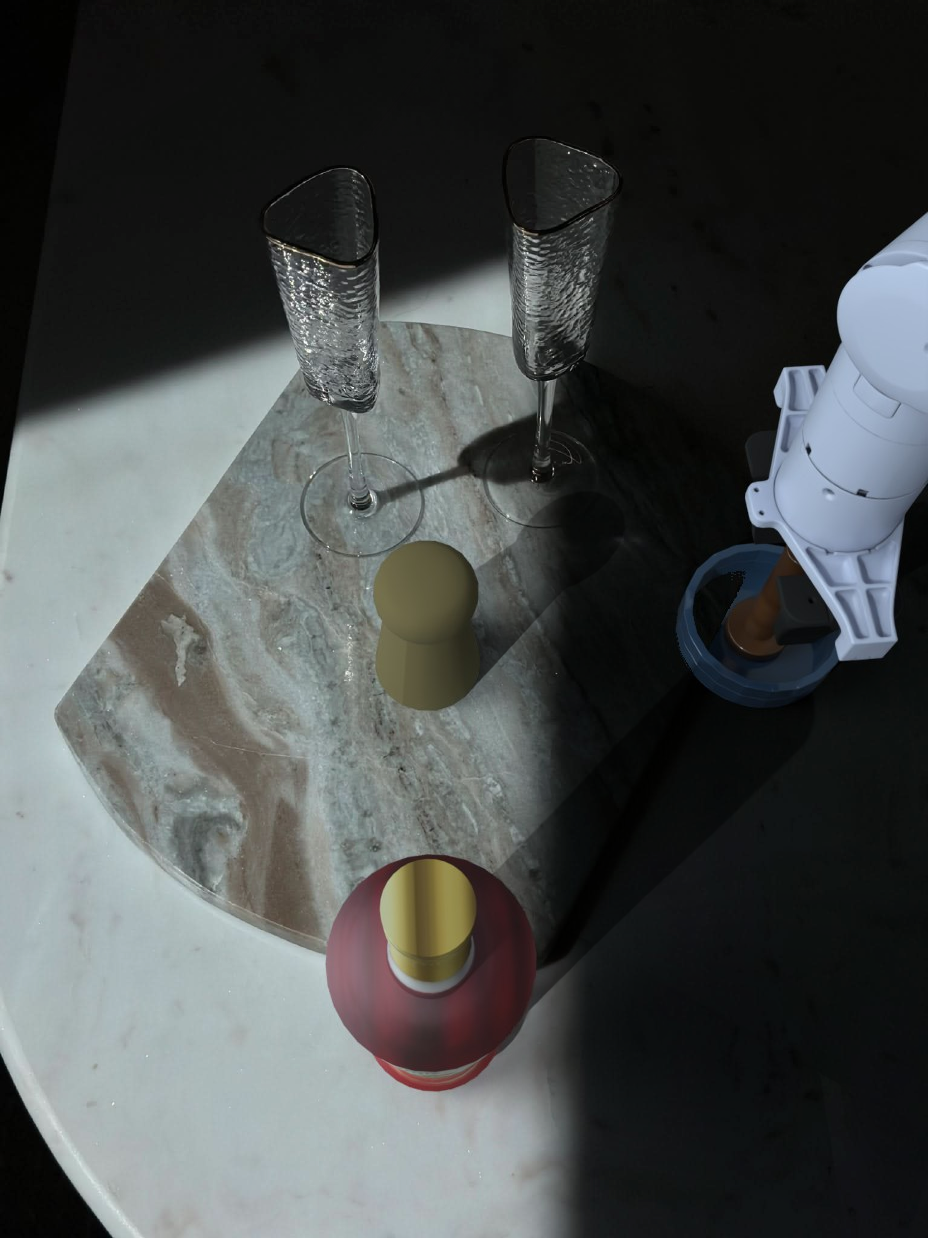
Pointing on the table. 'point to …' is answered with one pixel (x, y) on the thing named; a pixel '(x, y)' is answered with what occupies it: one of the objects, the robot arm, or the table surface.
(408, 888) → the liquor
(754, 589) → the bowl
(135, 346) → the table surface
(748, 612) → the pestle
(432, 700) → the cork
